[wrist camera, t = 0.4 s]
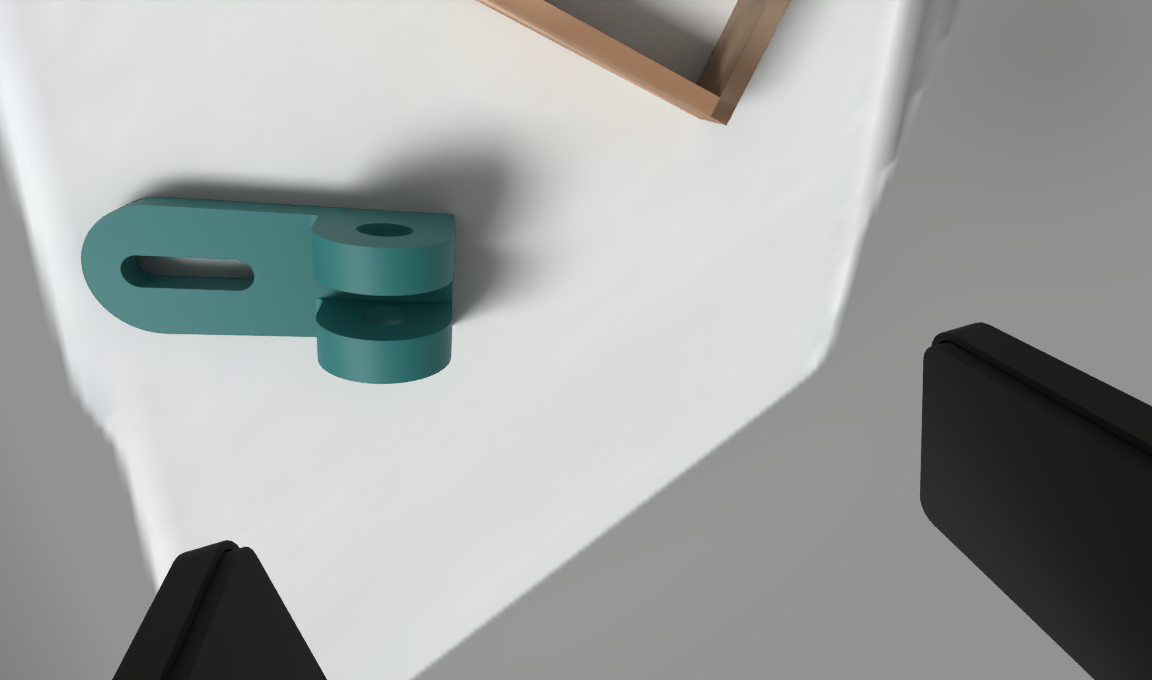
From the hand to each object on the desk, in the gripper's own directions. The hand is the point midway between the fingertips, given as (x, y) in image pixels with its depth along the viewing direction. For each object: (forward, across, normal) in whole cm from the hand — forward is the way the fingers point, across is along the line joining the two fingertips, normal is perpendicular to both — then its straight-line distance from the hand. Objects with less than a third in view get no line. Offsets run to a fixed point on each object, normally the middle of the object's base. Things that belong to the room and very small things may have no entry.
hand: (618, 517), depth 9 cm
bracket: (+31, +12, +3) cm, 33 cm away
